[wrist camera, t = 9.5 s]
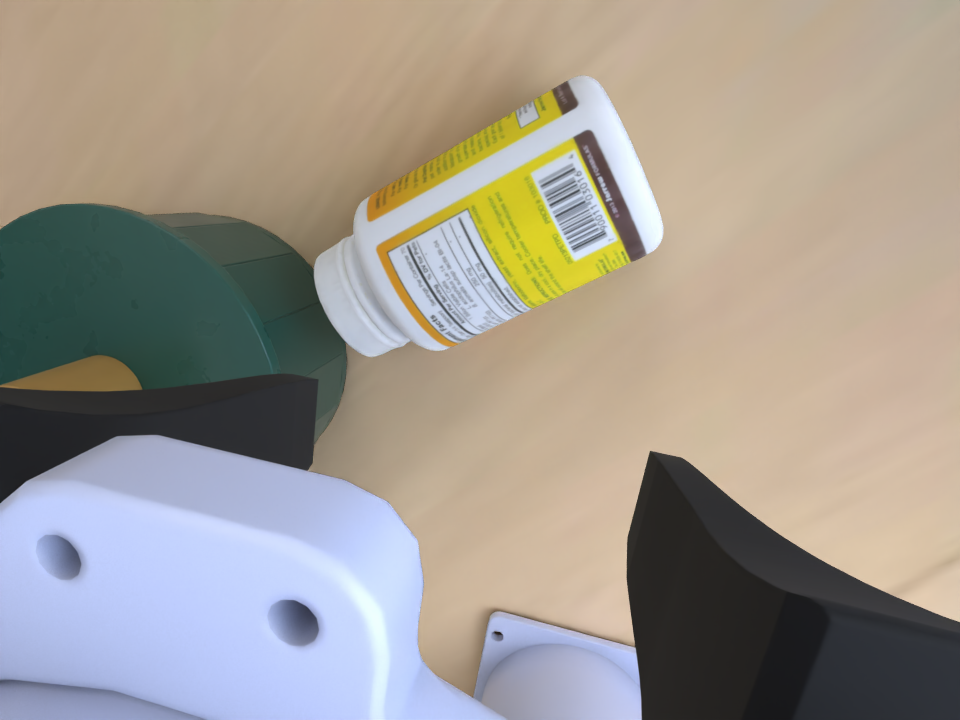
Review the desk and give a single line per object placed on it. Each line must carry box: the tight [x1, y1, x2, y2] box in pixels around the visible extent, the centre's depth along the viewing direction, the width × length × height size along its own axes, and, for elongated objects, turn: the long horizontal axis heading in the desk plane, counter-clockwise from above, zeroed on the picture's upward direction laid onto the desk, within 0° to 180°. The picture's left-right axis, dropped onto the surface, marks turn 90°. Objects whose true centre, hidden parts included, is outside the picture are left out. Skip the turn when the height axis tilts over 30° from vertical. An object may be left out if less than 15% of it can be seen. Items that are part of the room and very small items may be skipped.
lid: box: [0, 203, 281, 391], centre depth 18 cm, size 12×12×4 cm
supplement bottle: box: [314, 76, 663, 357], centre depth 19 cm, size 6×6×10 cm
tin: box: [147, 213, 347, 444], centre depth 22 cm, size 11×11×6 cm
